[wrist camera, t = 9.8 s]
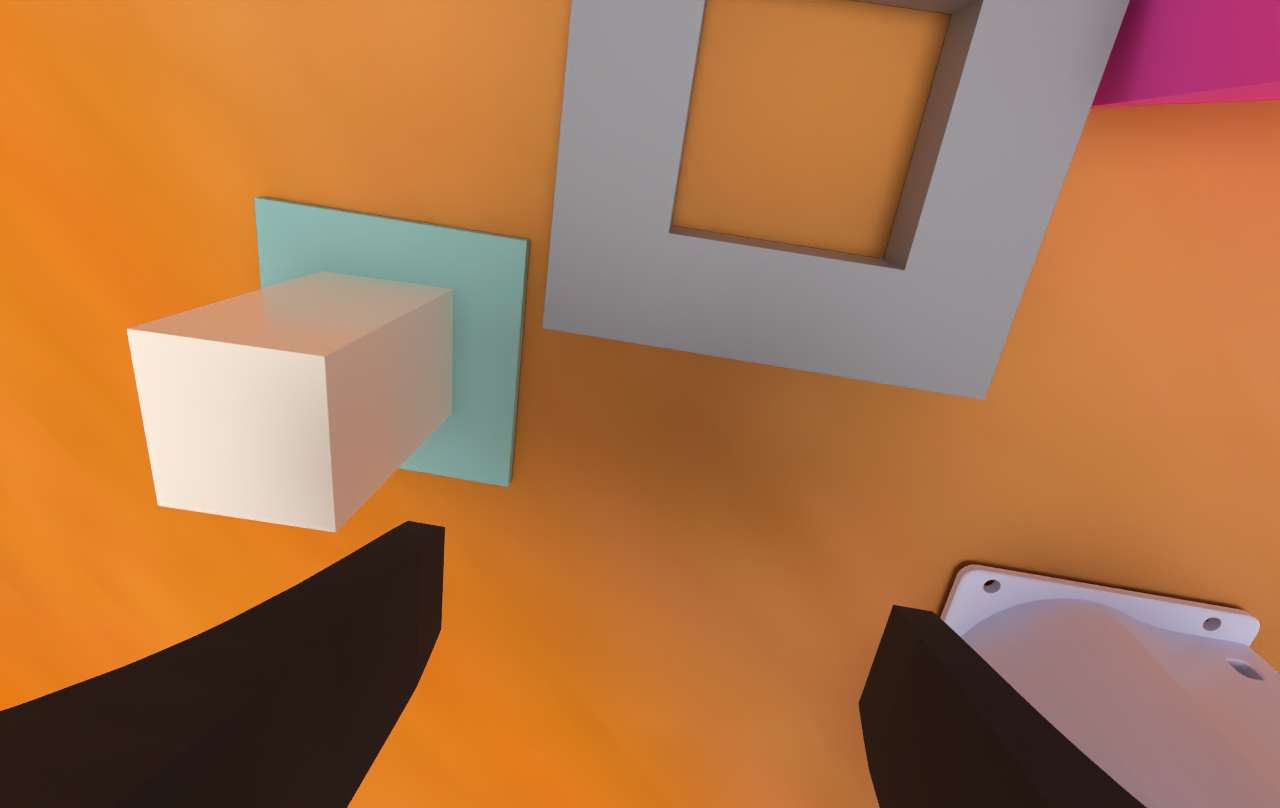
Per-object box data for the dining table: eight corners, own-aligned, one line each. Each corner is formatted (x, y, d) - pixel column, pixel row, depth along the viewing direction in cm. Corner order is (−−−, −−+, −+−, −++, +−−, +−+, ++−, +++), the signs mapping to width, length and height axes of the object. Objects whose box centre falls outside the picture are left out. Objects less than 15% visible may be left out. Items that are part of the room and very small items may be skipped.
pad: (530, 239, 19) (526, 241, 18) (511, 481, 22) (507, 487, 21) (263, 197, 19) (254, 197, 19) (279, 441, 22) (272, 446, 21)
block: (453, 288, 19) (324, 357, 12) (451, 413, 20) (335, 532, 14) (321, 270, 19) (126, 328, 13) (329, 396, 21) (157, 505, 14)
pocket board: (1125, -117, 15) (1187, -157, 13) (956, 376, 19) (983, 400, 17) (606, -189, 15) (593, -238, 13) (557, 311, 19) (542, 327, 18)
